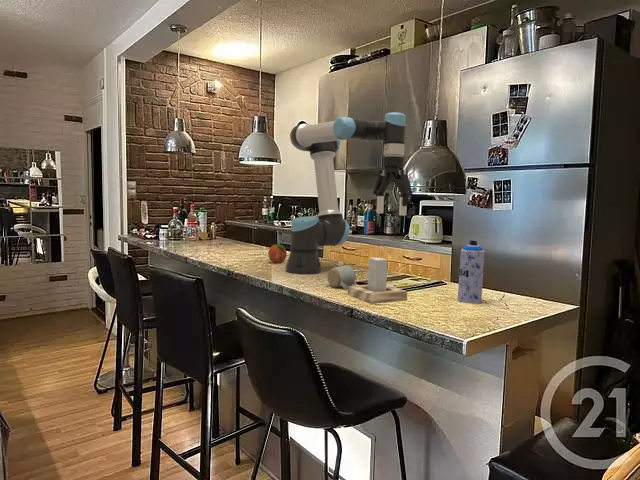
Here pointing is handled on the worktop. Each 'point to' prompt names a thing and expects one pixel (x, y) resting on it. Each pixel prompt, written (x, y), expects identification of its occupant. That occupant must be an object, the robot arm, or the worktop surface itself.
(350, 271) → the ceramic mug
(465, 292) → the aerosol can
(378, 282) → the skincare box
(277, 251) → the fruit
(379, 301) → the socket block
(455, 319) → the worktop surface
